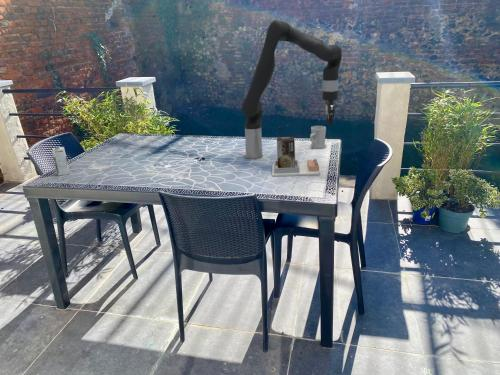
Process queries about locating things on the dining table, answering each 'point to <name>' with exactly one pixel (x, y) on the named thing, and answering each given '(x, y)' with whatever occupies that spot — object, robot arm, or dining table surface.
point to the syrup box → (60, 161)
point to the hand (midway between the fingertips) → (329, 124)
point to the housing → (292, 170)
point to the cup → (318, 137)
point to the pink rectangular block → (312, 165)
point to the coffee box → (286, 152)
